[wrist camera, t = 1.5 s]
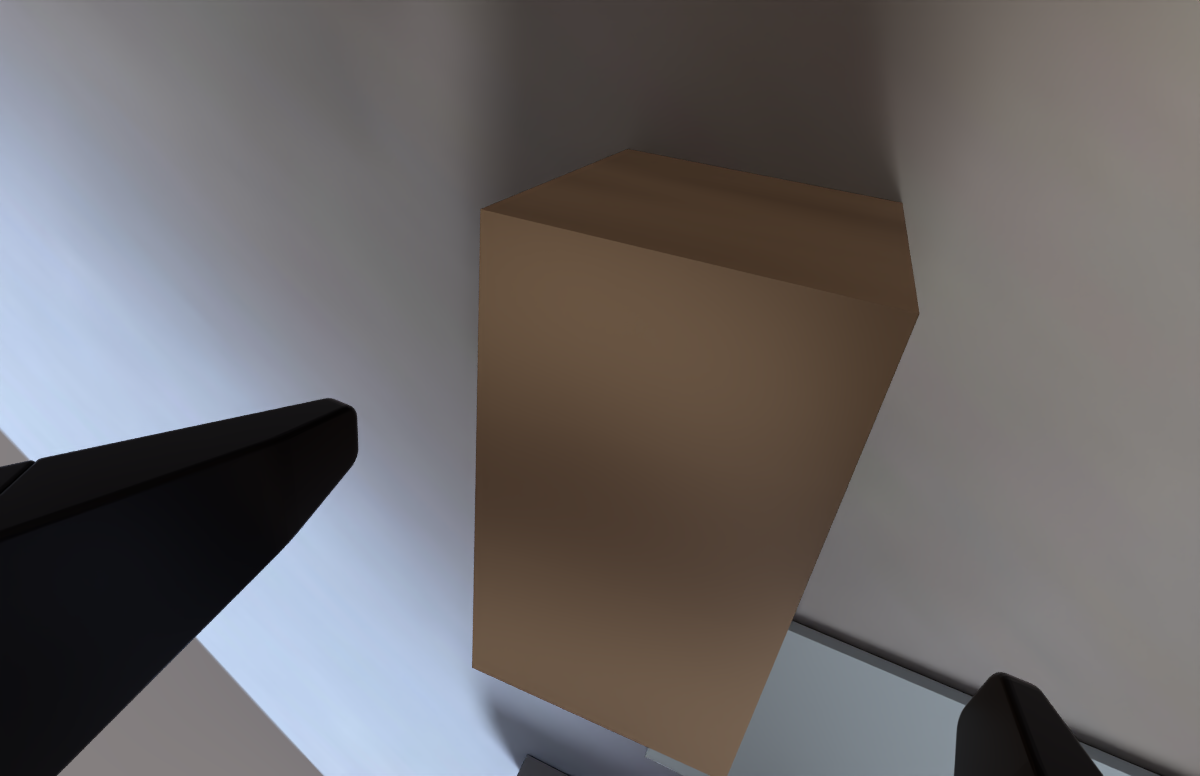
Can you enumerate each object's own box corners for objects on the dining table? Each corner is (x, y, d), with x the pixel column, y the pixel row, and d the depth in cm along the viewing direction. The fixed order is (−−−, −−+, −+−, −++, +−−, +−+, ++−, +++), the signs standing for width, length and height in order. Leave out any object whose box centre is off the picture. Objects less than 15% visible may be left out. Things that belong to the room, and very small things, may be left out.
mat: (1015, 928, 16) (1017, 941, 16) (647, 747, 18) (644, 757, 18) (1201, 793, 12) (1208, 808, 12) (711, 586, 14) (709, 596, 14)
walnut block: (769, 564, 14) (724, 782, 10) (582, 497, 15) (471, 667, 11) (901, 201, 10) (919, 313, 6) (629, 148, 11) (480, 209, 7)
